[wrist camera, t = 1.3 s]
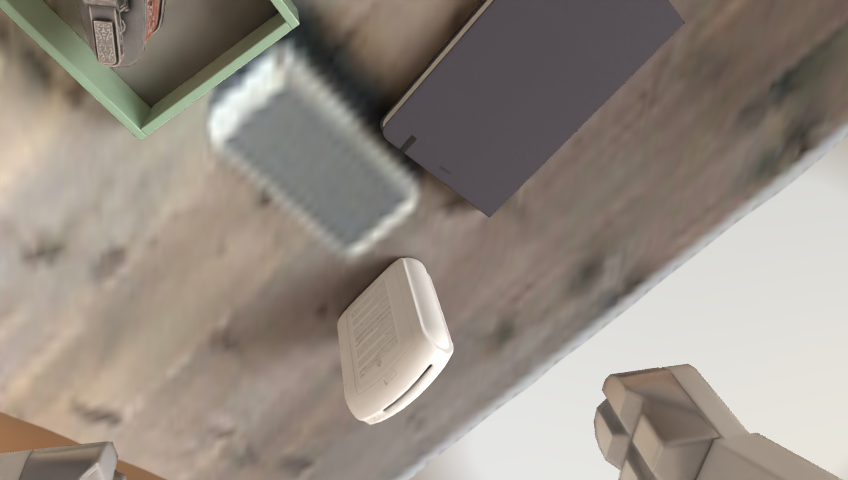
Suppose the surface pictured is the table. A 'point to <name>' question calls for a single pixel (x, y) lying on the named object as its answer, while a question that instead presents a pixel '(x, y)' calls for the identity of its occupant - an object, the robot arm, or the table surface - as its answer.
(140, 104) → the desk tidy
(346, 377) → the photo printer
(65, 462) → the robot arm
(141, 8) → the lighter
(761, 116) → the table surface
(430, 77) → the notebook
